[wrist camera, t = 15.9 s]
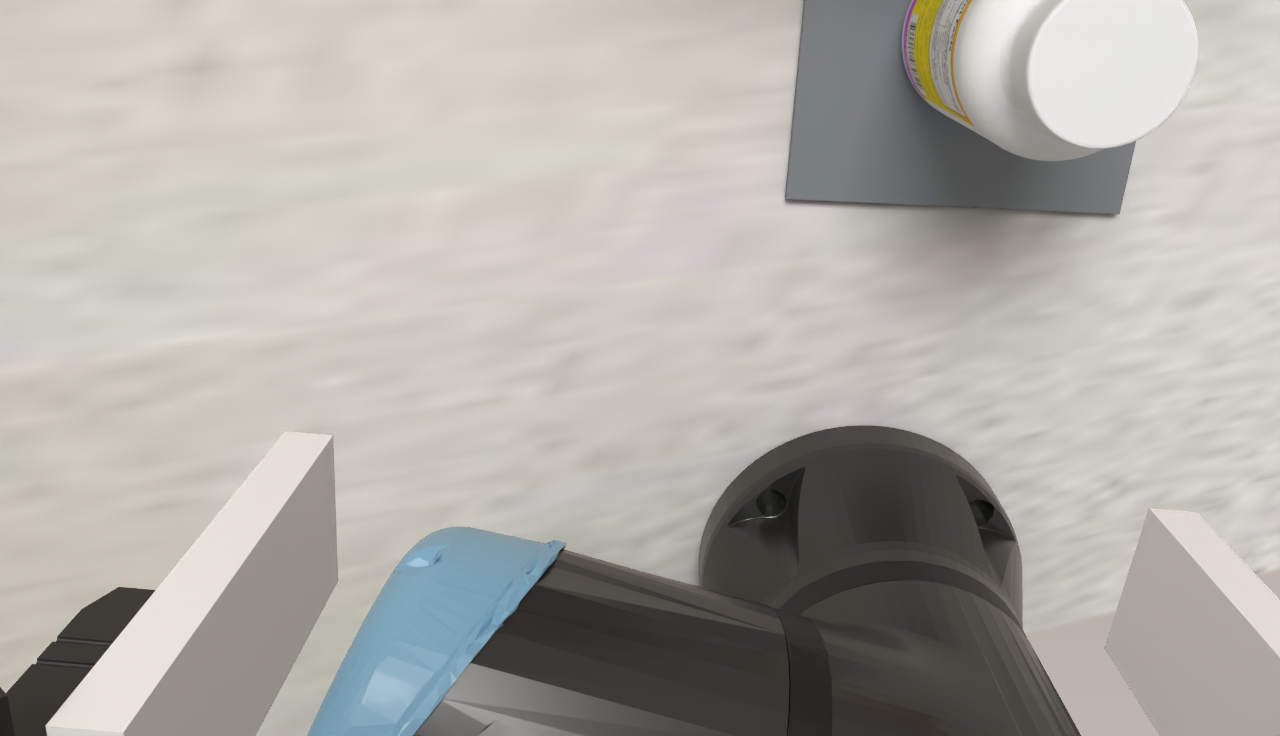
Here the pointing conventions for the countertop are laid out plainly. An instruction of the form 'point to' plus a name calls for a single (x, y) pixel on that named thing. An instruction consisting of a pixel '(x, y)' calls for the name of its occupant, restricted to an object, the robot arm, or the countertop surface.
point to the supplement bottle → (1052, 69)
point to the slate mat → (912, 131)
